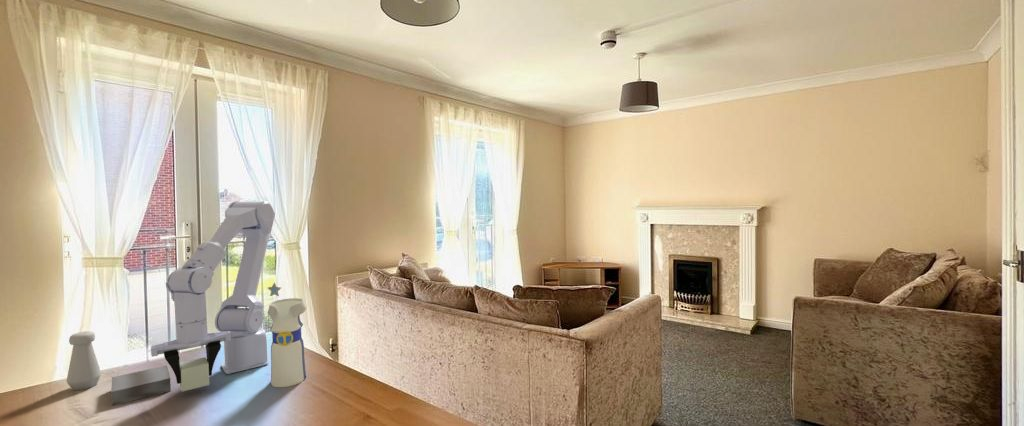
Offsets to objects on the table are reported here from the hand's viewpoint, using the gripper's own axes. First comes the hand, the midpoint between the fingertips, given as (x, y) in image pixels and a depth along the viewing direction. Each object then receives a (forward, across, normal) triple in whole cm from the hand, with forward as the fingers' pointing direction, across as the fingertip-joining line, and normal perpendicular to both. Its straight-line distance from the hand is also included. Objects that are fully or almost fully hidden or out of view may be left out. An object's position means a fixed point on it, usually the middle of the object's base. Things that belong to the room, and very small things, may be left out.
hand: (194, 378), depth 98 cm
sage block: (+2, 0, 0) cm, 2 cm away
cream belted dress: (+4, +18, -8) cm, 20 cm away
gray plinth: (+3, -9, +10) cm, 14 cm away
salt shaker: (+3, -19, +22) cm, 29 cm away
